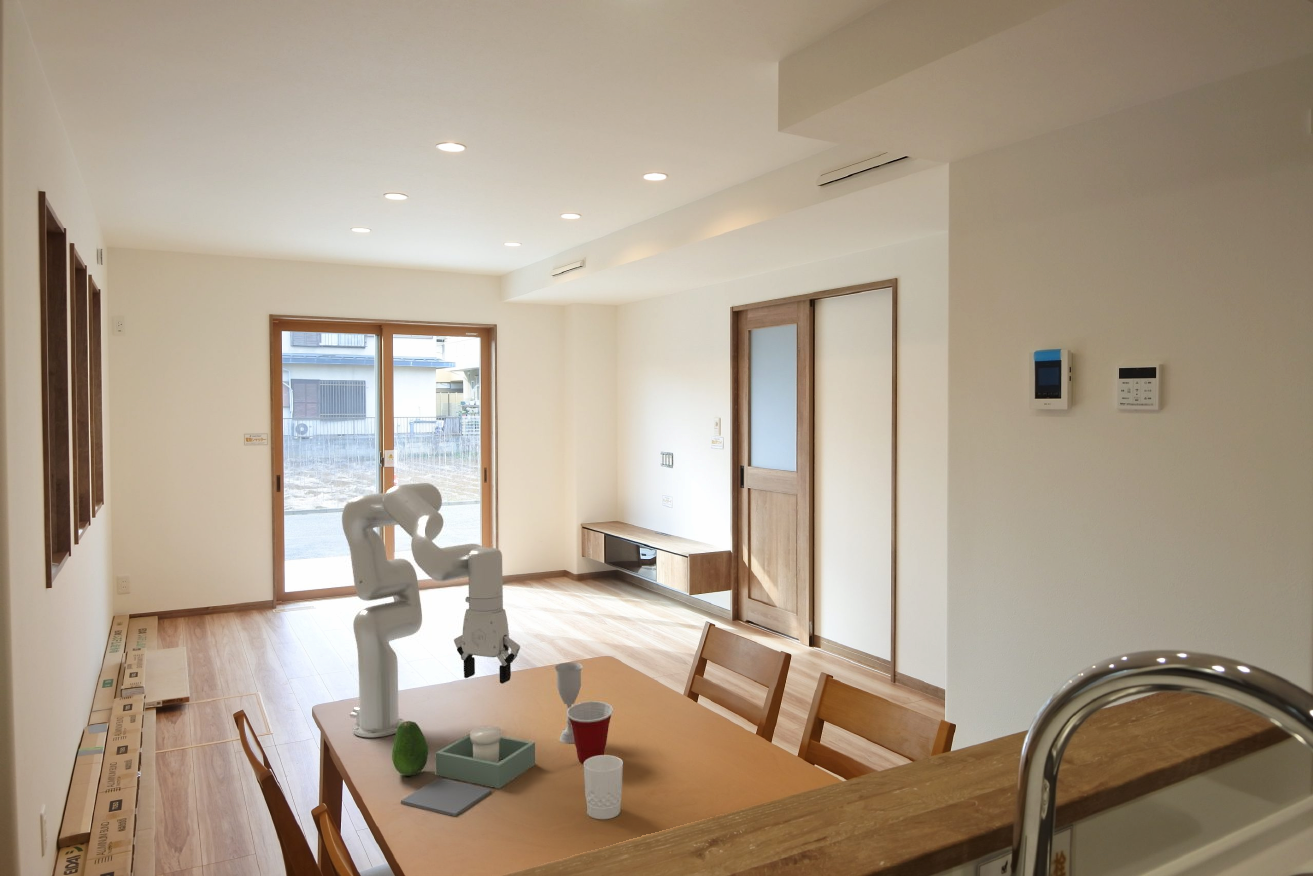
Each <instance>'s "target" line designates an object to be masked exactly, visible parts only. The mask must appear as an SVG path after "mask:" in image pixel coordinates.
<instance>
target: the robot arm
mask: <svg viewBox="0 0 1313 876" xmlns="http://www.w3.org/2000/svg"><path fill="white" fill-rule="evenodd" d="M442 501H443V498H442V495H441V492H440V490H439V489H438V488H437V487H436V486H435V485H434V484H431V483H429V482H420V483H405V484H399V485H398V484H397V485H395V486H393V487H391V488H388V489H387V491H386V492H385V493H372V494H371V493H370V494H365V495H364V494H363V495H359V496H356V497H353V498H352V499H350V500H348V501H347V503H346V504H345V506H344V507H343V510H342V515H341V525H342V529H343V532H344V536H345V538H346V541H347V544H348V547H349V552H350V561H351V567H352V575H353V583H354V588H355V592H356V595H357V597H358V598H359V599H360V600H362V601H368V602H370V601H377V600H382V599H383V600H384V599H387V598H392V597H393V601H391V602H386V603H379V604H376V605H373V606H372V605H371V606H368V607H365V608H363V609H361V610H360V611H359V612H357V614H355V617H354V620H353V633H354V638H355V642H356V649H357V659H358V660H357V663H358V665H357V666H358V697H359V698H358V700H359V703H358V704H359V705H358V706H356V707H354V708H353V709H352V712H350V714H349V717H350V718H352V719H356V723H355V724H354V725H353V727H352V733H353V734H354V735H355V736H359V737H361V738H380V737H388V736H391V735H394V734H396V731H397V728H398V726H399V725H400V724H401V723H403V722H406V721H405V719H404V718H402V717H400V716H399V665H398V664H399V661H398V657H397V656H398V655H397V654H396V651H395V650H394V649H393V647H392V646H391V645H390V642H392V641H395V640H397V639H402V638H406V637H409V636H413V635H415V634H416V633H417V632H419V631H420V629H421V626H422V623H423V613H422V612H423V611H422V604H421V596H420V589H419V588H420V587H419V581H418V575H417V572H416V569H415V567H414V566H413V564H412V563H411V562H410V561H409V560H407V559H405V558H393V559H388V558H387V553H386V544H385V542H384V540H383V539H382V538H381V536H380V535H379V533H377V532H376V531H375V530H374V529H375V528H382V527H384V528H385V527H391V526H400V527H401V528H402V529H403V530H404V531H405V532H406V534H407V535H409V536H410V537H411V541H410V542H411V549H410V550H411V553H412V557H413V561H414V562H415V563H416V565H417V566H418V567H419V568H420V569H421V570H422V571H423V572H424V574H426V575H427V576H428V577H430V578H431V579H432V580H434V581H437V582H439V583H440V582H441V583H442V582H451V581H454V580H460V579H465V578H468V596H466V597H465V602H466V603H467V604H468V608H466V609H465V613H464V617H463V624H462V625H463V626H462V634H461V635H460V636H457V637H455V638H454V639H453V643H454V645H455V647H456V650H457V653H458V655H460V659H461V660H462V661H463V678H464V679H468V678H470V677H473V676H474V675H475V674H476V659H475V657H473V656H477V657H478V656H479V657H486V658H497V659H498V661H499V662H500V664H501V665H499V667H498V668H499V670H498V671H499V683H500V684H505V683H507V682H508V681H510V680H511V675H512V674H511V672H512V671H511V668H512V667H511V666H512V665H511V663H513V662H514V660H515V659H516V658H517V657H518V654H519V651H520V649H521V645H520V644H518V643H517V642H516V641H515V640H513V639H512V638H510V633H509V624H508V617H507V613H506V609H504V596H503V594H504V591H503V590H504V587H503V586H504V584H503V582H504V581H503V554H502V552H501V550H500V549H498V548H495V547H484V546H483V545H480V544H477V543H465V544H459V545H453V546H447V547H439V546H438V545H436V544H435V542H433V540H435V539H436V538H437V537H438V536H439V534H440V533H441V532H442V530H443V527H444V518H443V515H442V514H441V513H440V512H439V511H440V510H441V508H442V505H443V502H442ZM509 649H511V650H510V653H509Z"/></svg>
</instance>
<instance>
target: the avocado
mask: <svg viewBox="0 0 1313 876" xmlns="http://www.w3.org/2000/svg"><path fill="white" fill-rule="evenodd" d="M391 750H392V751H391V753H392V754H391V760H392V764H393V767H394V768H395V770H396V771H397V772H398V773H399V774H401V775H403V776H410V777H411V776H414V775H417V774H419V773H420V772H422V771H423V770H424V769H425V767H426V766H427V762H428V757H429V745H428V743H427V740H426V738H425V736H424V734H423V732H422V729H421V728H420V726H419V724H417V723H416V722H414V721H411V720H407V721H405V722H403V723H401V724H400V725H399V726H398V728H397V731H396V733H395V736H394V741H393V743H392V749H391Z"/></svg>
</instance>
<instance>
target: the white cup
mask: <svg viewBox="0 0 1313 876" xmlns="http://www.w3.org/2000/svg"><path fill="white" fill-rule="evenodd" d="M623 768H624V762H623V760H622V759H621V758H619V757H618V756H615V755H609V754H608V755H607V754H604V755H599V756H594V757H591V758H588V759H587V760H585V762H584V764H583V773H584V774H583V775H584V776H583V777H584V793H585V801H586V814H587V815H588V816H589V817H590V818H593V819H595V820H609V819H613V818H615V817H617V816H618V815H619V814H620V813H621V804H622V803H621V802H622V801H621V800H622V794H623V793H622V792H623V770H624V769H623Z"/></svg>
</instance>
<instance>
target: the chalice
mask: <svg viewBox="0 0 1313 876" xmlns="http://www.w3.org/2000/svg"><path fill="white" fill-rule="evenodd" d="M583 666H584V665H582V663H579V662H574V661H572V662H571V661H570V662H563V663H559V664H556V665H555V666H554V669H555V671H556V687H557V691H558V694H559V696H560V698H561V701H562V703H563V704H564V705H566V707H567V710H568V709H569V708H570V707H571V706H572V705H575V704H576V700H577V698H578V696H579V694H580V690H581V687H582V669H583ZM567 710H566V711H565V713H566V714H567ZM565 721H566V724H567V727H565V729H564V728H563V730H562V731H561V734H560V738H559V739H558V740H559V742H561V743H563V744H575V741H574V736H573V730H572V725H571V722H570V719H569V718H568V716H567V717H566V719H565Z"/></svg>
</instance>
